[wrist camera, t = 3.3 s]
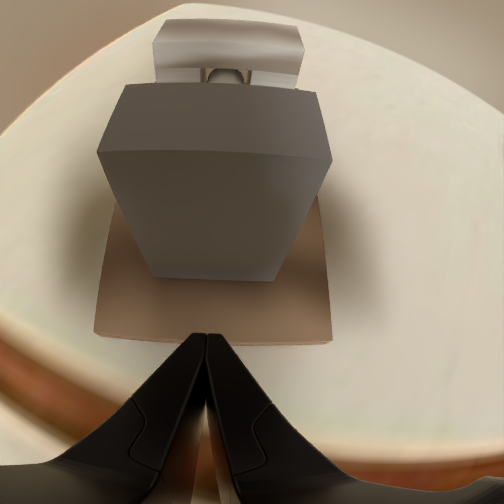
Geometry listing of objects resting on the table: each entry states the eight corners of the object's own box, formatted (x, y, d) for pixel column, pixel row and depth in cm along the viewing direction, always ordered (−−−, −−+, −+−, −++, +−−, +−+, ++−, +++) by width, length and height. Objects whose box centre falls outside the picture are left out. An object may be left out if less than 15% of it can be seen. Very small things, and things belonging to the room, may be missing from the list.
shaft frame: (324, 343, 16) (398, 306, 9) (101, 336, 15) (26, 292, 8) (295, 99, 24) (315, 25, 18) (156, 92, 23) (148, 16, 16)
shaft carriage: (273, 281, 16) (332, 160, 7) (153, 277, 15) (96, 151, 7) (265, 110, 21) (286, 0, 13) (182, 106, 20) (179, -5, 12)
